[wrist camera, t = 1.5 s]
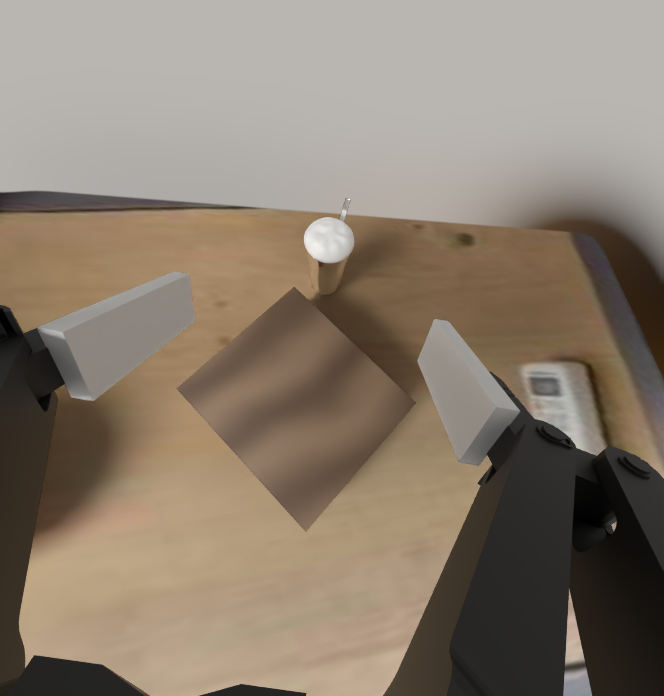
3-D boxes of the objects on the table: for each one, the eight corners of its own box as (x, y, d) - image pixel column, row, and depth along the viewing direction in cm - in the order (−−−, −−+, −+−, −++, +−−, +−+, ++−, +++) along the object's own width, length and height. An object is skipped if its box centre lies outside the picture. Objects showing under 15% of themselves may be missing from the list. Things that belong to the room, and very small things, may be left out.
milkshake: (353, 272, 31) (371, 211, 21) (332, 306, 30) (340, 257, 20) (322, 254, 31) (325, 186, 22) (299, 288, 30) (292, 231, 20)
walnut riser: (201, 392, 27) (176, 388, 22) (297, 306, 30) (294, 286, 25) (307, 507, 25) (305, 531, 20) (398, 403, 28) (416, 402, 23)
